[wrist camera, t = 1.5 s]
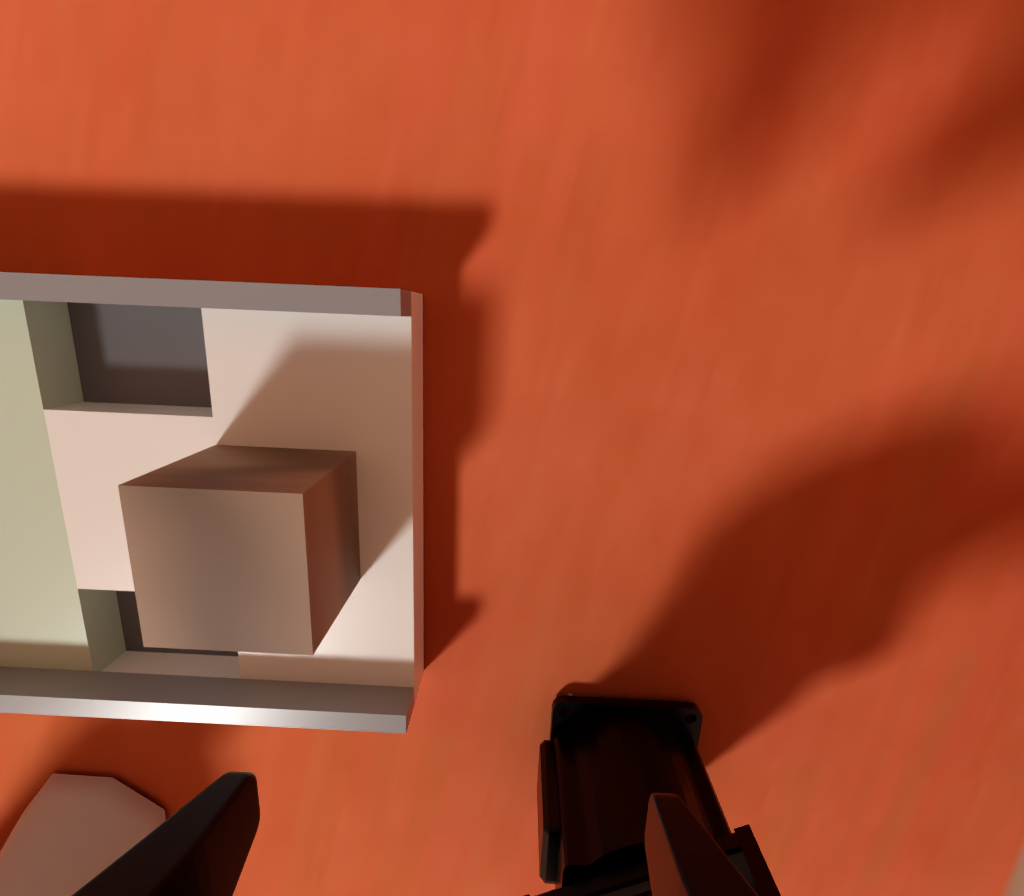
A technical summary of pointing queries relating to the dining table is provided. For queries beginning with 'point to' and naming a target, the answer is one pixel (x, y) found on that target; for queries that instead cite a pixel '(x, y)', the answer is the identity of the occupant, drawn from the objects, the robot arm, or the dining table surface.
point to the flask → (73, 834)
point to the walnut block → (243, 548)
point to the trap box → (178, 434)
